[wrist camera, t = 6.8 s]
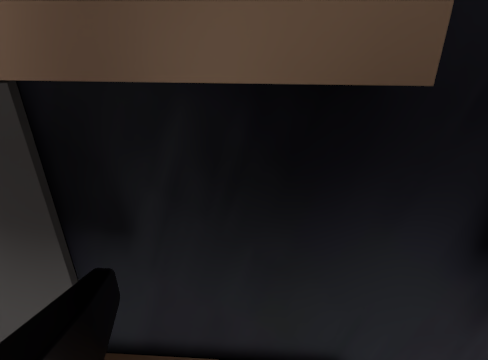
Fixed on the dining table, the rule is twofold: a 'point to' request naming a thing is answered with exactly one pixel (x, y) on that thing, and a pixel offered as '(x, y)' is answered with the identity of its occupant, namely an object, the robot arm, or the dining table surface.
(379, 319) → the dining table surface
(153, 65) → the channel
